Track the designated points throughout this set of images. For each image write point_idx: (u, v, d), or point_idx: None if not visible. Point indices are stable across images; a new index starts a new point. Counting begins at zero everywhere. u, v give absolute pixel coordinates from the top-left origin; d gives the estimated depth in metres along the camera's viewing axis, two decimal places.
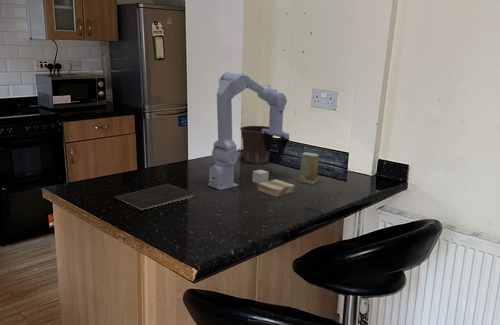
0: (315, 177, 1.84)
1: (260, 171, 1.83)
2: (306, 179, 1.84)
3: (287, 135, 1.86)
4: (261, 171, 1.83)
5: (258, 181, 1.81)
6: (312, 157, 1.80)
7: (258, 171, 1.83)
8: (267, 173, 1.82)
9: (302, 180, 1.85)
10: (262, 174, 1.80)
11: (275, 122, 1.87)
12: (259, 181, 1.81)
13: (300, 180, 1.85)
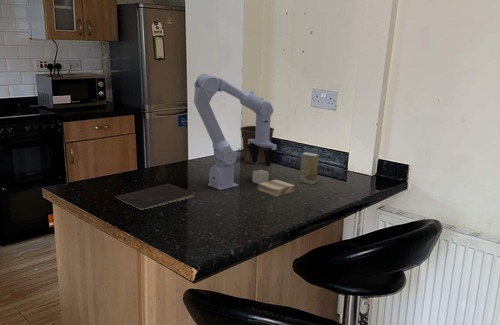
0: (315, 177, 1.84)
1: (260, 171, 1.83)
2: (306, 179, 1.84)
3: (274, 146, 1.75)
4: (261, 171, 1.83)
5: (258, 181, 1.81)
6: (312, 157, 1.80)
7: (258, 171, 1.83)
8: (267, 173, 1.82)
9: (302, 180, 1.85)
10: (262, 174, 1.80)
11: (261, 132, 1.76)
12: (259, 181, 1.81)
13: (300, 180, 1.85)
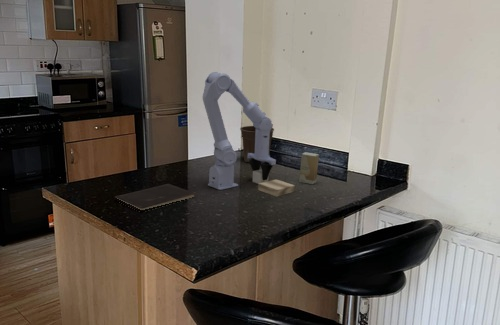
0: (315, 177, 1.84)
1: (260, 171, 1.83)
2: (306, 179, 1.84)
3: (273, 161, 1.76)
4: (261, 171, 1.83)
5: (258, 181, 1.81)
6: (312, 157, 1.81)
7: (258, 170, 1.83)
8: None
9: (302, 180, 1.85)
10: None
11: (261, 147, 1.77)
12: (259, 181, 1.81)
13: (300, 180, 1.85)
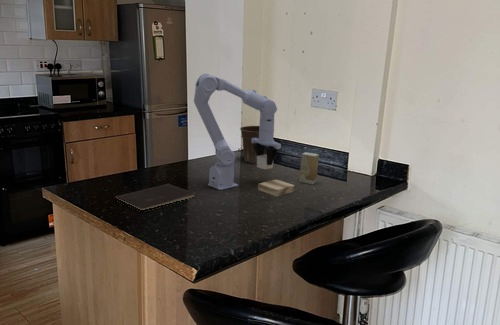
0: (315, 177, 1.84)
1: (265, 156, 1.79)
2: (306, 179, 1.84)
3: (279, 145, 1.72)
4: (266, 156, 1.79)
5: (263, 166, 1.77)
6: (312, 157, 1.80)
7: (262, 155, 1.79)
8: None
9: (302, 180, 1.85)
10: None
11: (266, 131, 1.73)
12: (264, 166, 1.77)
13: (300, 180, 1.85)
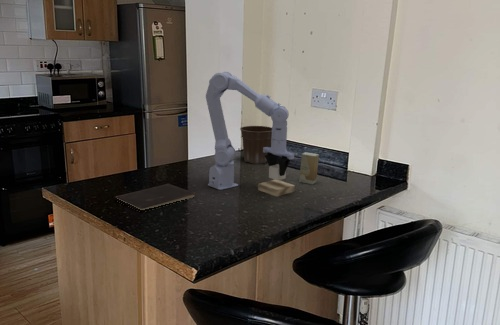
0: (315, 177, 1.84)
1: (277, 166, 1.71)
2: (306, 179, 1.84)
3: (292, 155, 1.64)
4: (278, 166, 1.71)
5: (275, 176, 1.69)
6: (312, 157, 1.80)
7: (274, 165, 1.72)
8: None
9: (302, 180, 1.85)
10: None
11: (278, 141, 1.66)
12: (276, 176, 1.69)
13: (300, 180, 1.85)
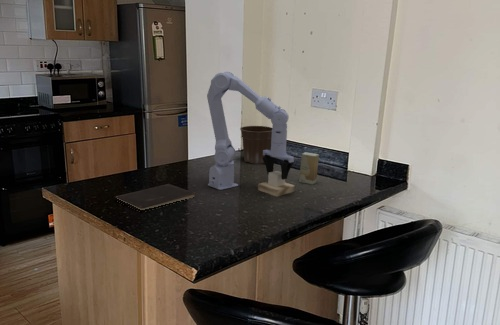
0: (315, 177, 1.84)
1: (276, 172, 1.72)
2: (306, 179, 1.84)
3: (291, 158, 1.65)
4: (277, 172, 1.72)
5: (274, 183, 1.70)
6: (312, 157, 1.80)
7: (274, 172, 1.73)
8: None
9: (302, 180, 1.85)
10: (278, 176, 1.69)
11: (278, 144, 1.66)
12: (275, 183, 1.70)
13: (300, 180, 1.85)
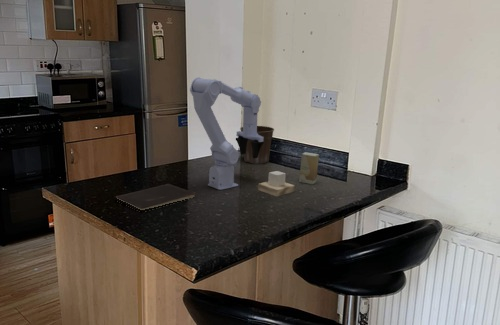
0: (315, 177, 1.84)
1: (276, 172, 1.72)
2: (306, 179, 1.84)
3: (261, 138, 1.78)
4: (277, 172, 1.72)
5: (274, 183, 1.70)
6: (312, 157, 1.81)
7: (274, 172, 1.72)
8: (284, 175, 1.71)
9: (302, 180, 1.85)
10: (279, 176, 1.69)
11: (249, 125, 1.79)
12: (275, 183, 1.70)
13: (300, 180, 1.85)
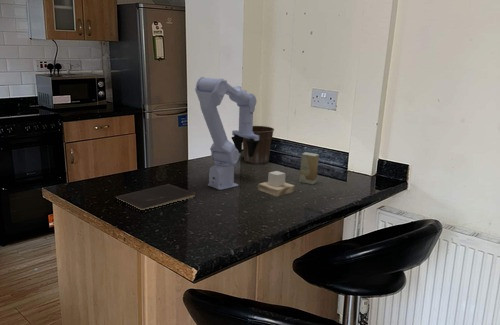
0: (315, 177, 1.84)
1: (276, 172, 1.72)
2: (306, 179, 1.84)
3: (257, 137, 1.80)
4: (277, 172, 1.72)
5: (274, 183, 1.70)
6: (312, 157, 1.80)
7: (273, 172, 1.72)
8: (284, 174, 1.71)
9: (302, 180, 1.85)
10: (279, 176, 1.69)
11: (244, 124, 1.81)
12: (275, 183, 1.70)
13: (300, 180, 1.85)
